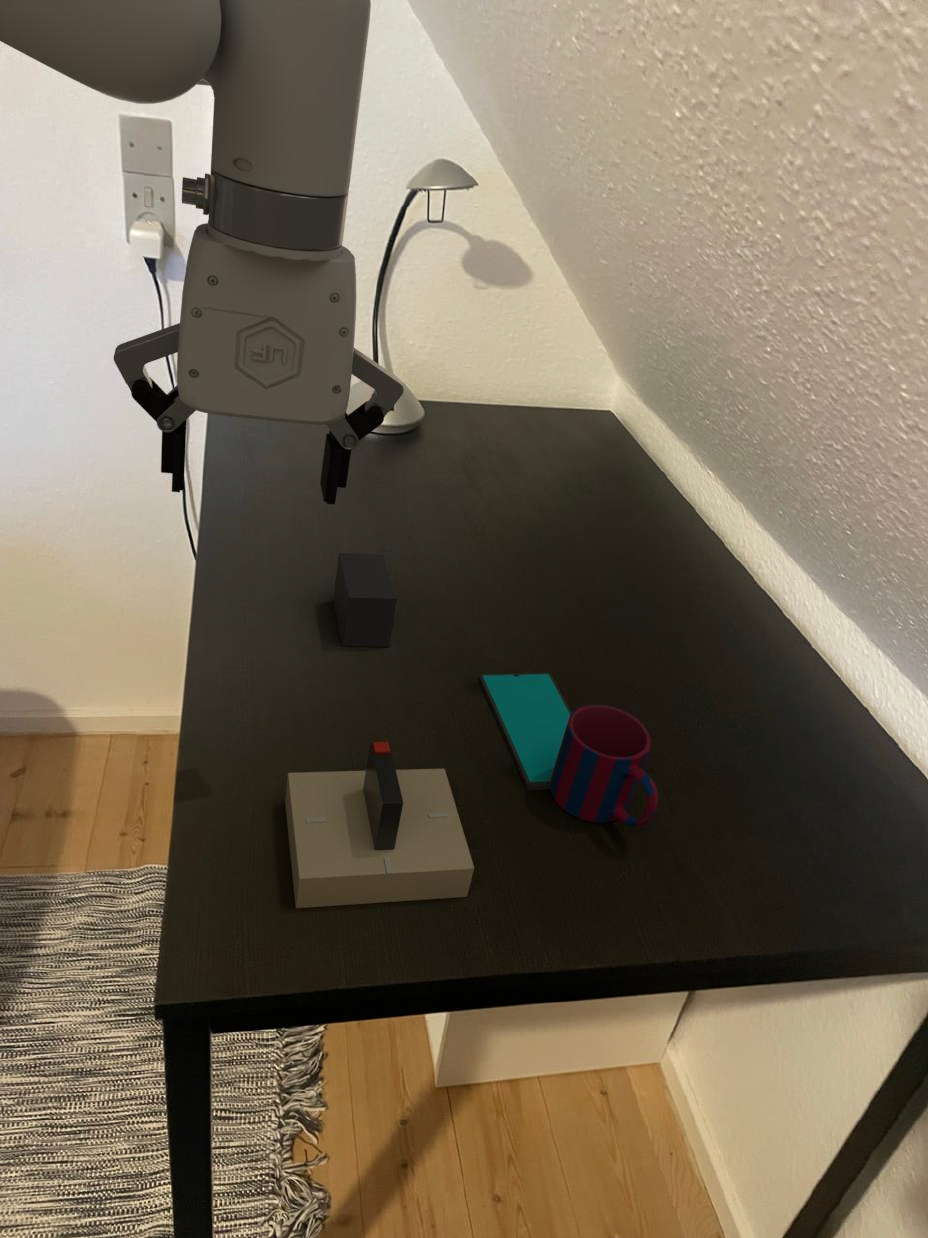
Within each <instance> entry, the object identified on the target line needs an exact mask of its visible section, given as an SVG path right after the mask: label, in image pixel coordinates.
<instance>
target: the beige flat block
mask: <svg viewBox="0 0 928 1238" xmlns="http://www.w3.org/2000/svg"><path fill="white" fill-rule="evenodd" d="M365 773H366V770H344V771H343V770H342V771H341V770H340V771H309V772H308V771H307V772H305V771H304V772H303V771H302V772H288V773H287V777H286V787H285V799H284V805H285V812H286V813H285V814H286V815H285V817H286V824H287V834H288V845H289V856H290V864H291V874H292V875H291V876H292V882H293V883H292V886H293V892H294V893H293V895H294V905H295V909H306V908H308V909H309V908H321V907H335V906H336V907H338V906H351V905H366V904H367V905H368V904H382V903H395V902H397V903H398V902H409V901H410V902H411V901H425V900H427V901H428V900H440V899H441V900H442V899H453V898H455V899H456V898H457V899H458V898H467V897H468V894H469V891H470V887H471V883H472V880H473V875H474V872H475V866H474V862H473V858H472V855H471V852H470V849H469V845H468V842H467V839H466V836H465V833H464V829H463V825H462V823H461V818H460V816H459V812H458V809H457V806H456V802H455V799H454V795H453V791H452V789H451V786H450V781H449V779H448V776H447V772H446V768H413V769H396V773H397V777H398V782H399V786H400V790H401V795H402V799H403V807H402V812H401V817H400V823H399V828H398V833H397V838H396V844H395V849H390V850H375V849H374V844H373V839H372V833H371V828H370V823H369V818H368V812H367V807H366V802H365V796H364V791H363V786H364V780H365Z"/></svg>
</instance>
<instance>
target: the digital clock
mask: <svg viewBox="0 0 928 1238" xmlns="http://www.w3.org/2000/svg"><path fill="white" fill-rule="evenodd" d="M336 564H337V565H336V572H335V573H336V574H335V581H334V590H333V596H332V597H333V599H332V602H333V606H334V611H335V616H336V620H337V625H338V629H339V636H340V640H341V645H342V647H347V648H348V647H356V648H357V647H360V648H365V647H366V648H367V647H368V648H372V647H373V648H390V645H391V638H392V632H393V625H394V619H395V614H396V613H395V612H396V607H397V600H398V598H397V594H396V591H395V587H394V584H393V581H392V578H391V574H390V571H389V568H388V565H387V561H386V558H385V555H384V554H382V553H381V554H377V553H355V552H353V553H349V552H339V553H338V556H337V563H336Z"/></svg>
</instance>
